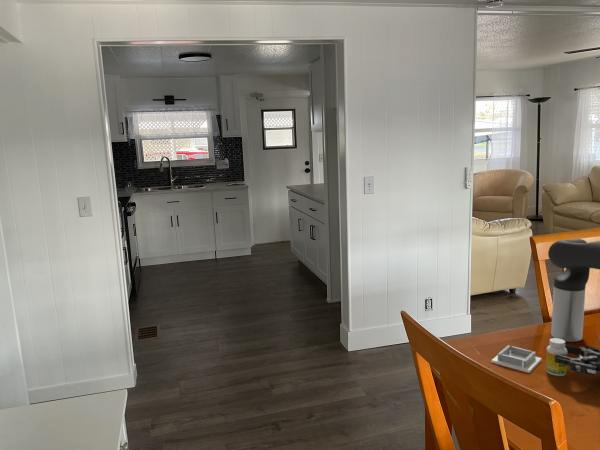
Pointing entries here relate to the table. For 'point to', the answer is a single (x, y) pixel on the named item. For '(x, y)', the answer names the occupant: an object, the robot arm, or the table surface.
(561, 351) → the supplement bottle
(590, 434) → the table surface
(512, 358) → the caddy
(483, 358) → the table surface
